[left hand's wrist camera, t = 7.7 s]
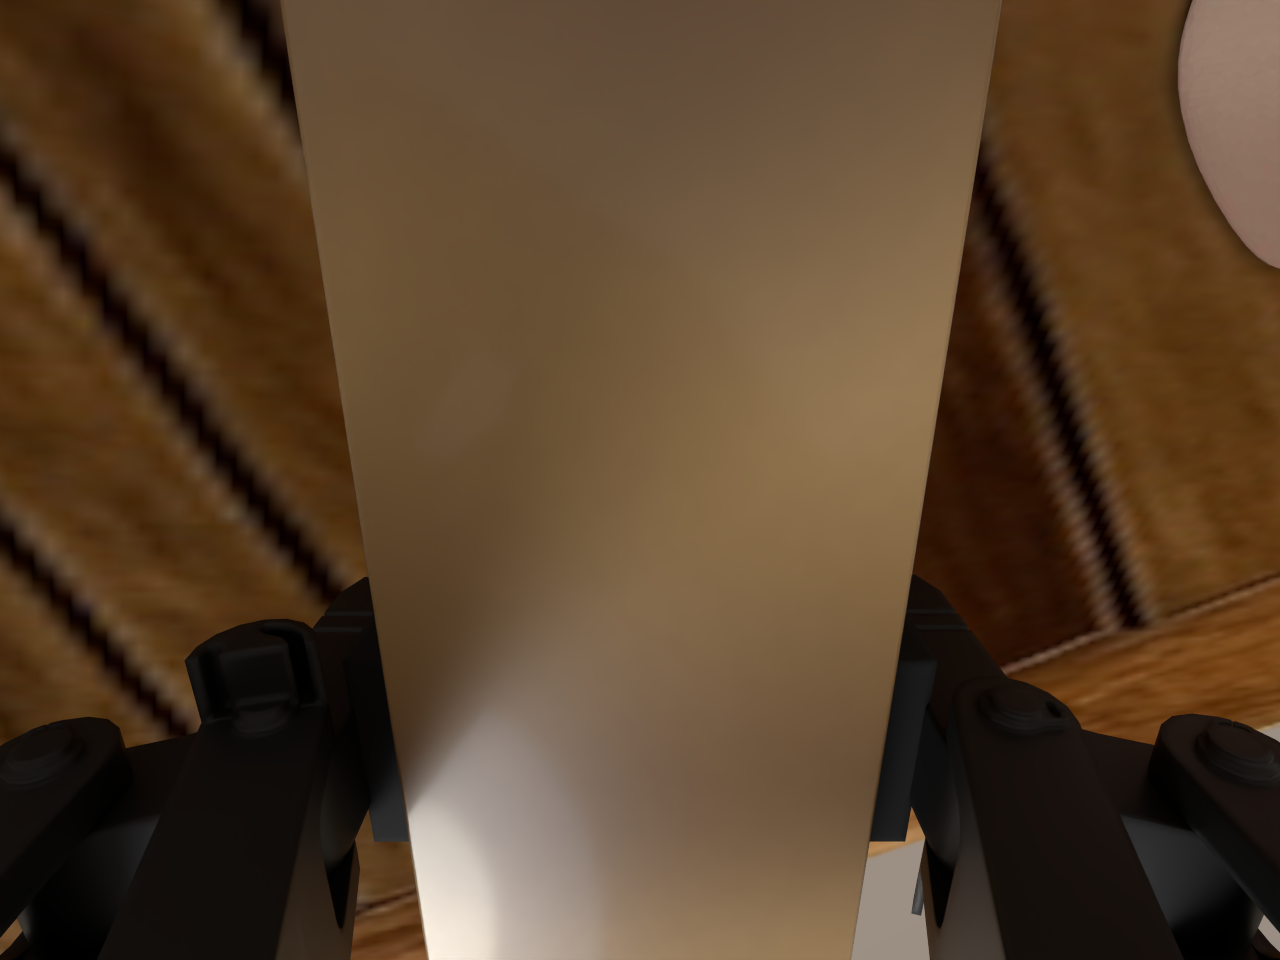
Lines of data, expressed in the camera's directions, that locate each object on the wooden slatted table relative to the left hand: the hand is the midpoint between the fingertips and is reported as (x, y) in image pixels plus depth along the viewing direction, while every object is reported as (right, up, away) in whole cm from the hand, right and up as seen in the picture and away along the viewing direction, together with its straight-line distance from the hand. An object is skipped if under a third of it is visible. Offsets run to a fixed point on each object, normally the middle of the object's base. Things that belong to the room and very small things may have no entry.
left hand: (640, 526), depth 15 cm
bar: (0, +8, -2) cm, 8 cm away
